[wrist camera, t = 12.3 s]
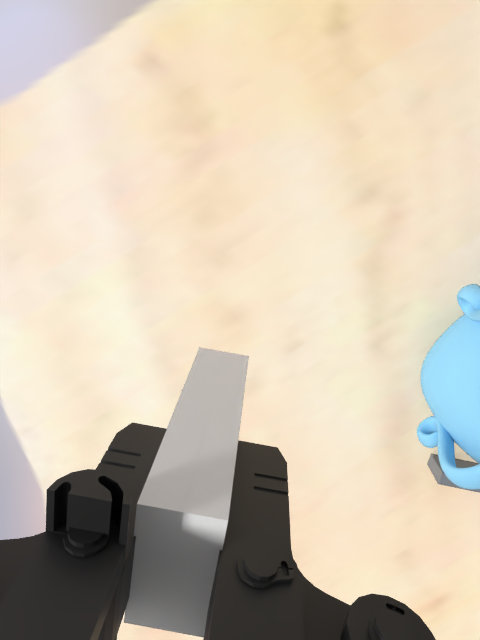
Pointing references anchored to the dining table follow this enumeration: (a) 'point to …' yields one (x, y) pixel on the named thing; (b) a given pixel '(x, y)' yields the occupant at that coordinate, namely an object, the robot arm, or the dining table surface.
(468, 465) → the grey piece
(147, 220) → the dining table surface
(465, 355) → the decorative pot
